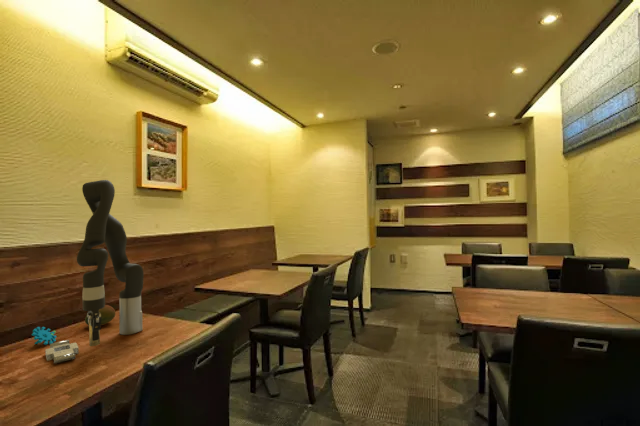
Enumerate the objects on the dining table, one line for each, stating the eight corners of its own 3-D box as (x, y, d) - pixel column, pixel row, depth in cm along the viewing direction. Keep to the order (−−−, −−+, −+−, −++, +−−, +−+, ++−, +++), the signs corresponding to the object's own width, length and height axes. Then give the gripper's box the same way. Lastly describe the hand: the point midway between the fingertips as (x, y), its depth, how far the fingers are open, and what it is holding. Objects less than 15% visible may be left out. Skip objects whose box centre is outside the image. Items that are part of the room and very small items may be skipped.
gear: (43, 345, 137) (29, 328, 138) (32, 355, 137) (18, 338, 138) (64, 338, 148) (50, 323, 149) (54, 348, 148) (40, 332, 149)
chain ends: (73, 343, 143) (73, 337, 143) (81, 358, 127) (81, 351, 127) (44, 349, 136) (44, 343, 136) (48, 367, 120) (48, 359, 120)
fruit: (119, 322, 172) (119, 303, 172) (98, 330, 159) (98, 310, 160) (101, 320, 174) (101, 302, 174) (79, 328, 162) (79, 308, 162)
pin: (98, 341, 134) (98, 320, 134) (100, 344, 132) (100, 322, 132) (88, 344, 132) (88, 322, 132) (90, 346, 130) (90, 324, 129)
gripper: (108, 298, 130) (109, 340, 130) (100, 292, 140) (101, 331, 140) (85, 302, 124) (86, 346, 124) (79, 295, 134) (80, 336, 134)
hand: (94, 338), depth 132 cm, fingers closed on pin, 3 cm apart
